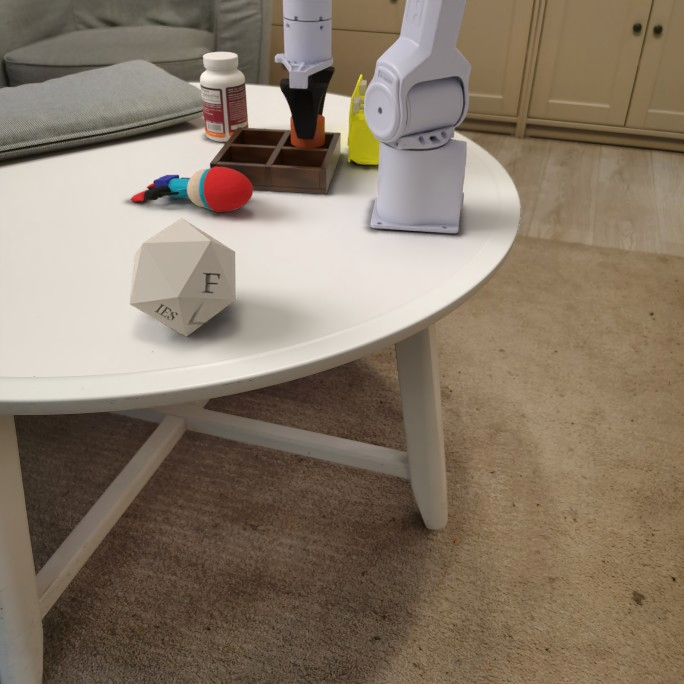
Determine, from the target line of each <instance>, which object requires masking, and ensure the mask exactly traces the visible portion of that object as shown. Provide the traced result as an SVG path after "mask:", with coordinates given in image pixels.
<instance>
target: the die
mask: <svg viewBox="0 0 684 684" xmlns="http://www.w3.org/2000/svg"><path fill="white" fill-rule="evenodd" d="M132 265H133V266H132V273H131V275H132V276H131V285H130V295H129V305H130V306H132V307H134V308H136V309H137V310H139V311H141V312H142V313H144V314H146V315H147V316H149V317H151V318H153V319H154V320H156V321H159V322H160V323H161V324H163V325H165V326H166V327H169V328H170V329H172V330H174V331H175V332H177V333H179V334H181V335H183V336H184V337H186V338H187V337H188V336H190V335H191V334H193V333H194V332H195V331H196V330H198V329H199V328H200V327H202V326H203V325H204V324H206V323H207V322H208V321H210V320H211V319H212V318H214V317H215V316H216V315H218V313H220V312H221V311H223V310H224V309H225V308H227V307H228V306H229V305H231V304H232V303H234V302H235V301H236V300H237V299H236V298H237V297H236V295H237V294H236V293H237V292H236V291H237V290H236V285H237V284H236V250H235V251H234V250H233V249H232V248H230V247H228V246H227V245H225V244H223V243H222V242H221V241H219V240H218V239H216V238H215V237H213V236H211V235H210V234H208V233H207V232H205V231H204V230H202V229H200V228H198V227H197V226H195V225H194V224H192V223H191V222H189V221H188V220H186V219H184V218H182V217H180V218H179V219H178V220H176V221H175V222H173V223H172V224H170V225H168V226H167V227H165V228H164V229H162V230H161V231H159V232H158V233H156V234H154V235H153V236H151V237H150V238H147V240H145V241H144V242H142V243H141V244H140V247H139V248H138V249H137V251H136V252H135V254H134V256H133V264H132Z"/></svg>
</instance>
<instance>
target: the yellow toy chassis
mask: <svg viewBox="0 0 684 684" xmlns="http://www.w3.org/2000/svg"><path fill="white" fill-rule="evenodd" d="M367 83H368V81H367V79H363V74H360V75H359V77H358V79H357V82H356V85H355V87H354V90H353V92H352V95H351V97H350V103H349V114H348V137H347V147H348V151H347V162H348V163H351V161H352V162H355V163H356V164H358V165H362V166H363V165H364V166H372V165H375V166H379V148H380V141H379V140H377V139H375V138H374V134H373V133H372V132H371V130H370V128H369V127H368V124H367V122H366V119H365V114H364V99H365V94H366V90H367V88H368V86H367V85H368V84H367Z"/></svg>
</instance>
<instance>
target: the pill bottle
mask: <svg viewBox="0 0 684 684" xmlns="http://www.w3.org/2000/svg"><path fill="white" fill-rule="evenodd" d="M202 61H203V67H204V68H205V71H203V72H202V73H201V75H200V76H199V84H200V94H201V104H202V113H203V123H204V132H205V136H206V138H208V140H211V141H213V142H219V143H226V142H227V141H228V140H229V138H230V137H231V136H232V134H233V133H234V132H235V131H236V129H237V128H238V127H242V128H250V127H249V115H248V105H247V104H248V103H247V102H248V100H247V88H246V78H245V74H244V73H243V71H241V70H239V69H238V67H239V55H238V54H237V53H235V52H230V51H212V52H208V53H205V54H203V55H202Z"/></svg>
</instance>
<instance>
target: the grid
mask: <svg viewBox="0 0 684 684" xmlns="http://www.w3.org/2000/svg"><path fill="white" fill-rule="evenodd" d="M341 136H342V135H341V132H332V131H325V144H324V145H322V146H320V147H316V148H302V147H296V146H294V145H292V144H291V129H274V128H258V127H249V128H242V127H238V128H237V129H236V131H235V132H234V133H233V134H232V136H231V137H230V138H229V140H228V141H227V142H224V144H223V146H222V147H221V148H220V149H219V151H218V152H217V153H216V155H215V156H214V158H212V160H211V161H210V162H209V168H213V167H226V168H230V169H234V170H236V171H238V172H240V173H242V174H243V175H245V176H246V177H247V178H248V179H249V180H250V182H251V184H252V187H253V191H268V192H269V191H270V192H283V193H285V192H286V193H302V194H315V195H316V194H317V195H318V194H320V195H327V193H328V191H329V188H330V185H331V182H332V179H333V176H334V173H335V170H336V168H337V165H338V163H339V159H340V157H341V143H342V142H341V139H342V137H341Z"/></svg>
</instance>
